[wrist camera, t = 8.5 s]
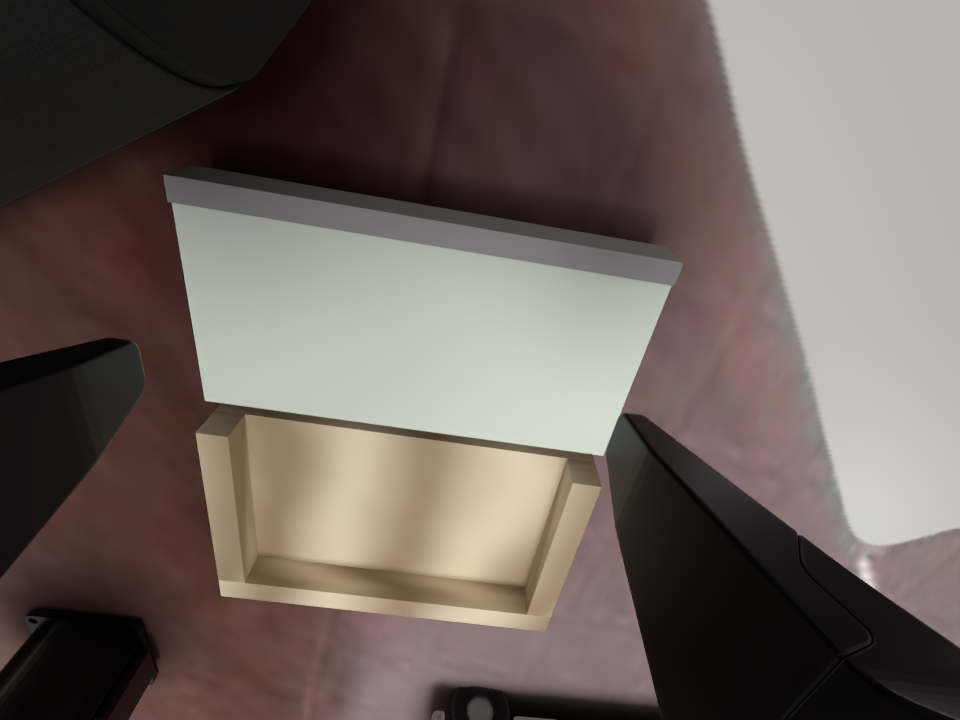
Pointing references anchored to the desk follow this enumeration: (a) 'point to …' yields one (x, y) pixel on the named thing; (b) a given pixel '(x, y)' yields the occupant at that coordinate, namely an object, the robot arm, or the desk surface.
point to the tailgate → (412, 311)
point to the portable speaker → (118, 73)
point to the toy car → (478, 706)
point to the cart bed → (391, 517)
